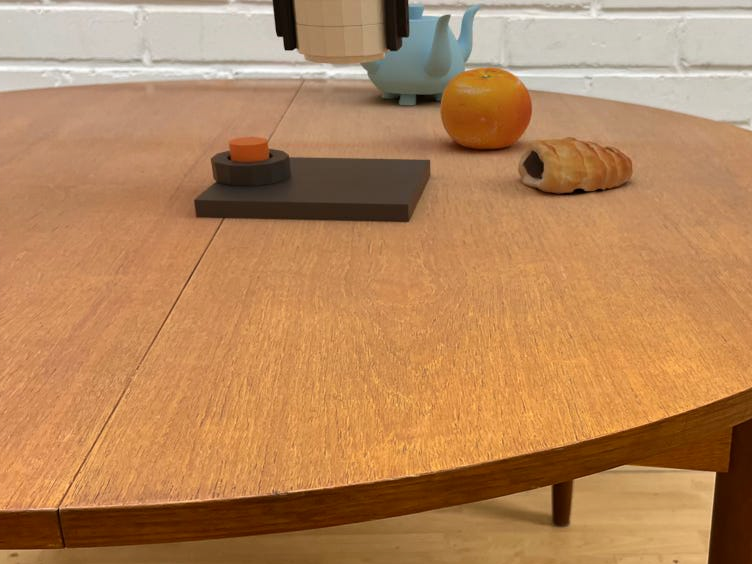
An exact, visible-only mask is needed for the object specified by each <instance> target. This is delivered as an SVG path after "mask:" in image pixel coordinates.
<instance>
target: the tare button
mask: <svg viewBox="0 0 752 564" xmlns="http://www.w3.org/2000/svg"><path fill="white" fill-rule="evenodd" d="M228 147H229V150H230V156H231V161H236V162H254V161H262V160H266V159H270V157H269V149H270V148H269V140H268V139H267V138H264V137H259V136H244V137H236V138H232V139H230V140H229V141H228Z"/></svg>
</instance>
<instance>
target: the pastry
mask: <svg viewBox="0 0 752 564" xmlns="http://www.w3.org/2000/svg"><path fill="white" fill-rule="evenodd" d="M517 172H518V174H519V176H520V178H521V183H522V184H523V185H525V186H526V187H530V188H537V189H538V190H540V191H542V192H545V193H554V194H556V195H560V194H565V193H571V194H572V193H573V192H574V190H577V189H582V190H583V191H584V192H594V191H596V190H598V189H600V190H601V189H602V191H605V190H606V189H609V190H611V189H612V188H617V187H619V186H620V185H623V184H625V183H626V181H630V180H631V179H632V177H633V173H634V170H633V161H632V158H630V157H629V156H628V155H626V154H625V153H624V152H622V151H621V150H620V149H618V148H616V147H614V146H610V145H609V146H602V145H600V143H598V142H596V141H588V140H581V139H580V140H578V139H576V138H575V137H570V136H568V137H564V138H561V139H558V138H557V139H544V140H543V139H542V140H541V139H538V140H532V141H529V142H527V144H526V146H525V150H524V151H523V152H522V154H521V155H520V160H519V162H518V167H517Z"/></svg>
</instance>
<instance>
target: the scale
mask: <svg viewBox="0 0 752 564" xmlns="http://www.w3.org/2000/svg"><path fill="white" fill-rule="evenodd" d="M269 157H270V159H266V160H262V161H254V162H236V161H231V156H230V149H229V150H225V151H221V152H218V153H216V154H215V155H213V156H212V157H211V158H210V163H211V173H212V177H213V180H214V182H213V183H212V184H211V185H210V186H209V187H207V188H206V189H205V190H204V191H202V192H201V193H200V194H199V195H198V196H197V197H196V198H194V199H193V203H194V204H193V205H194V210H195V217H196V218H199V219H200V218H201V219H203V218H204V219H247V220H248V219H249V220H255V219H256V220H290V221H291V220H294V221H334V222H335V221H336V222H337V221H339V222H378V223H379V222H380V223H410V220H411V219H412V216H413V215H414V212H415V210H416V208H417V205H418V203H419V202H420V201H419V200H420V199H421V198H422V195H423V192H424V191H425V189H426V186H427V184H428V182H429V180H430V178H431V159H416V158H415V159H411V158H409V159H408V158H407V159H404V158H362V157H361V158H357V157H355V158H353V157H299V156H290V155H289V153H287V152H285V151H284V150H280V149H275V148H269Z"/></svg>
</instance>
